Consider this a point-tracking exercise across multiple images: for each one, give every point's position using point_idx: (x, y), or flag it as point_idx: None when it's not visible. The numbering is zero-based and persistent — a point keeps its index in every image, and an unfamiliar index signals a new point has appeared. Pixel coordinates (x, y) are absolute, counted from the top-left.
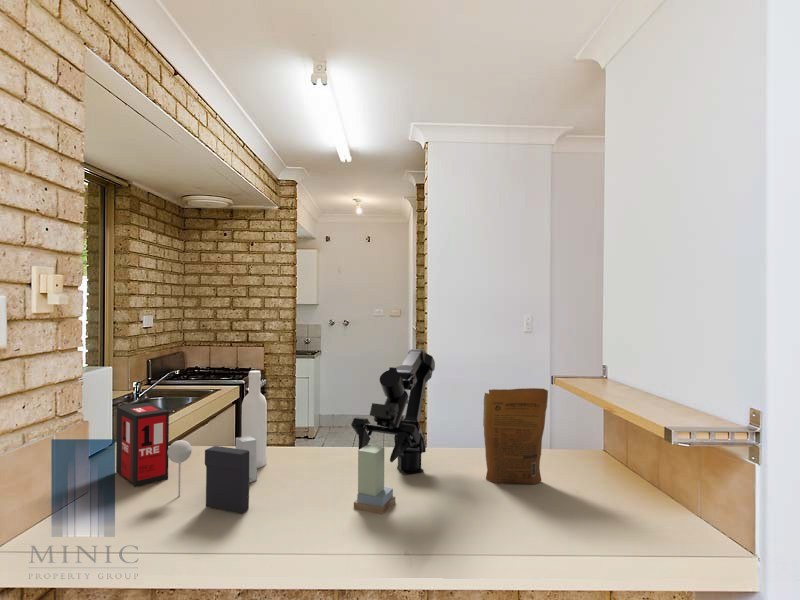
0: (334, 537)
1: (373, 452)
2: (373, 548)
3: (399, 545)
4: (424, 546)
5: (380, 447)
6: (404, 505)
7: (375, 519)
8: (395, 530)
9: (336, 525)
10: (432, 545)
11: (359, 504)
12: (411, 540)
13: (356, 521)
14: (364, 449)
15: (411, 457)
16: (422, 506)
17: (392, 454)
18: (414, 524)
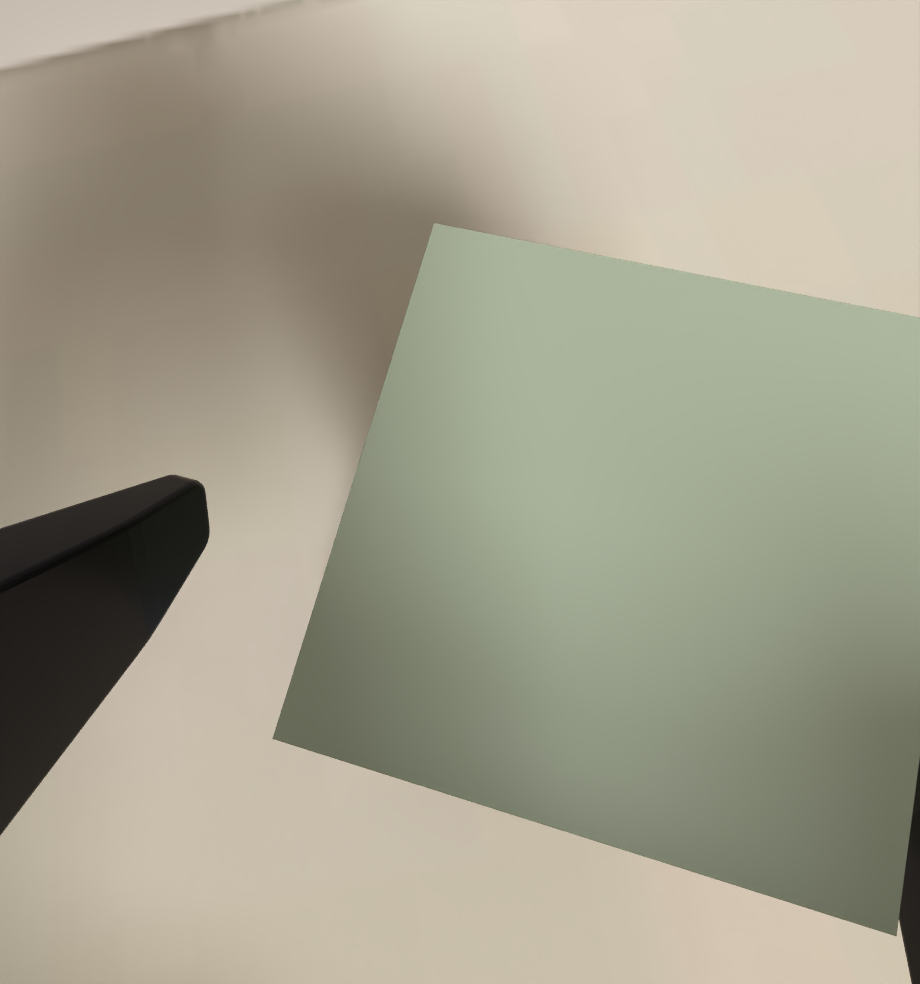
0: (655, 83)
1: (494, 255)
2: (387, 30)
3: (246, 93)
4: (107, 116)
5: (390, 712)
6: (274, 667)
7: None
8: (292, 253)
9: (705, 228)
10: (63, 137)
11: None
12: (182, 160)
13: None
14: (818, 433)
15: None
16: (129, 676)
17: (90, 521)
18: (176, 360)
